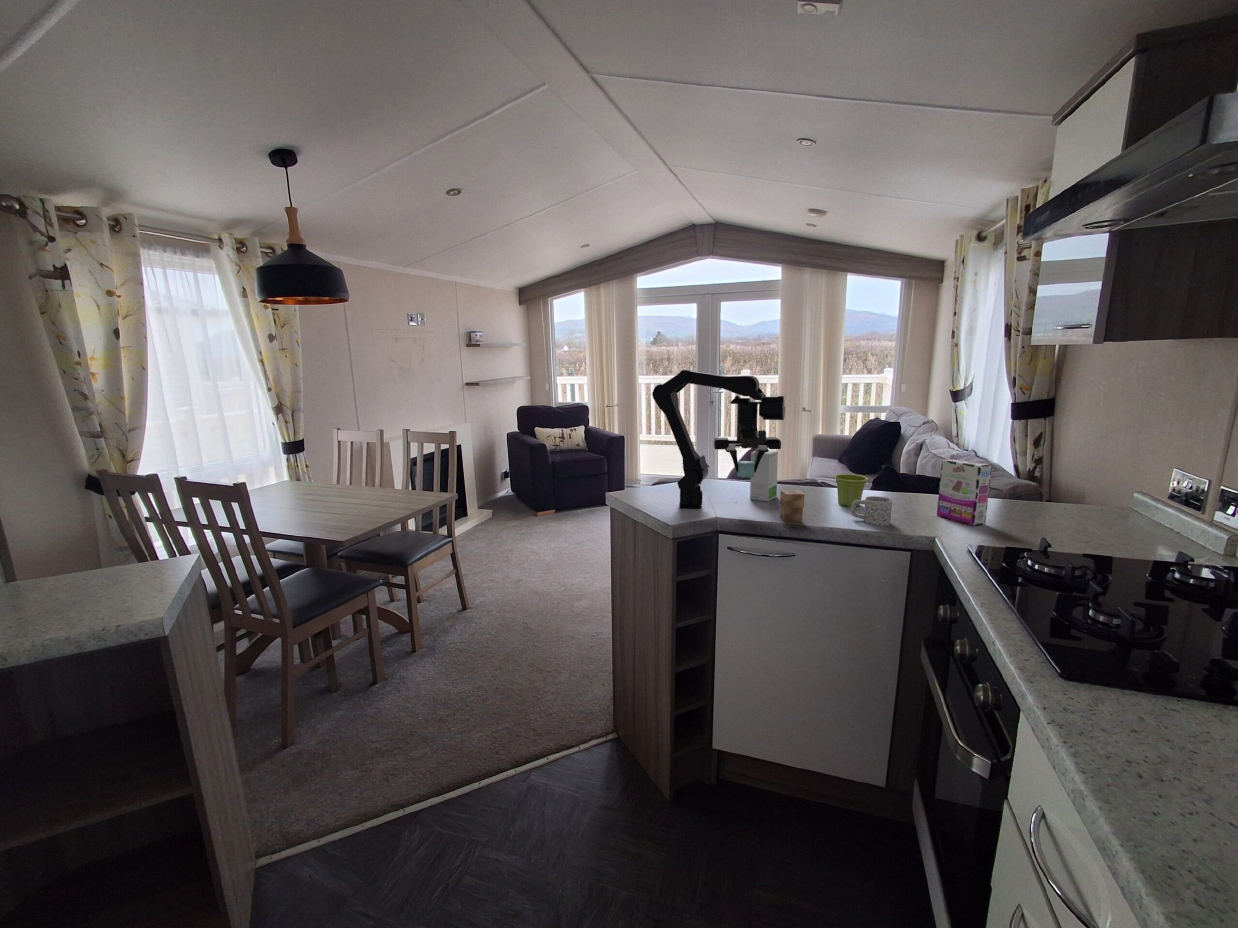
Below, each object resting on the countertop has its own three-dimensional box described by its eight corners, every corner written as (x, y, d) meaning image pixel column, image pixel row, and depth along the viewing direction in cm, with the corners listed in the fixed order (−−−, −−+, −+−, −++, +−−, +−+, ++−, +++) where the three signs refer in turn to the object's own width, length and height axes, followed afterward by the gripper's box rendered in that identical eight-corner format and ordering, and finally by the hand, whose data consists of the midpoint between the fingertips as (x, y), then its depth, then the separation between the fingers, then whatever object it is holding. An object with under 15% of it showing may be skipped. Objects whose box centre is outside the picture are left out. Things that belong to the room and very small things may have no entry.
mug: (891, 521, 147) (893, 497, 145) (889, 527, 141) (891, 503, 140) (852, 516, 152) (853, 493, 151) (848, 522, 146) (850, 499, 145)
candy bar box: (986, 524, 142) (993, 464, 139) (973, 526, 141) (980, 466, 138) (948, 513, 153) (953, 457, 150) (935, 515, 151) (941, 459, 148)
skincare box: (767, 502, 168) (769, 453, 165) (748, 499, 172) (749, 452, 169) (777, 496, 175) (779, 450, 172) (758, 494, 179) (759, 448, 176)
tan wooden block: (785, 508, 146) (786, 494, 146) (780, 503, 151) (780, 490, 151) (803, 508, 147) (804, 494, 146) (797, 503, 151) (798, 489, 151)
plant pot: (859, 500, 168) (861, 474, 167) (870, 508, 159) (872, 480, 157) (829, 500, 169) (830, 474, 167) (838, 508, 160) (839, 480, 158)
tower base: (783, 522, 148) (784, 508, 147) (780, 516, 152) (780, 503, 152) (802, 522, 147) (802, 508, 146) (798, 517, 152) (798, 503, 151)
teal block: (738, 477, 154) (738, 464, 154) (736, 474, 159) (736, 461, 158) (755, 477, 154) (755, 464, 153) (753, 474, 159) (753, 461, 158)
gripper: (716, 422, 147) (715, 477, 149) (786, 422, 145) (783, 478, 148) (713, 418, 157) (713, 470, 160) (778, 418, 156) (776, 470, 158)
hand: (745, 472), depth 156 cm, fingers closed on teal block, 5 cm apart
